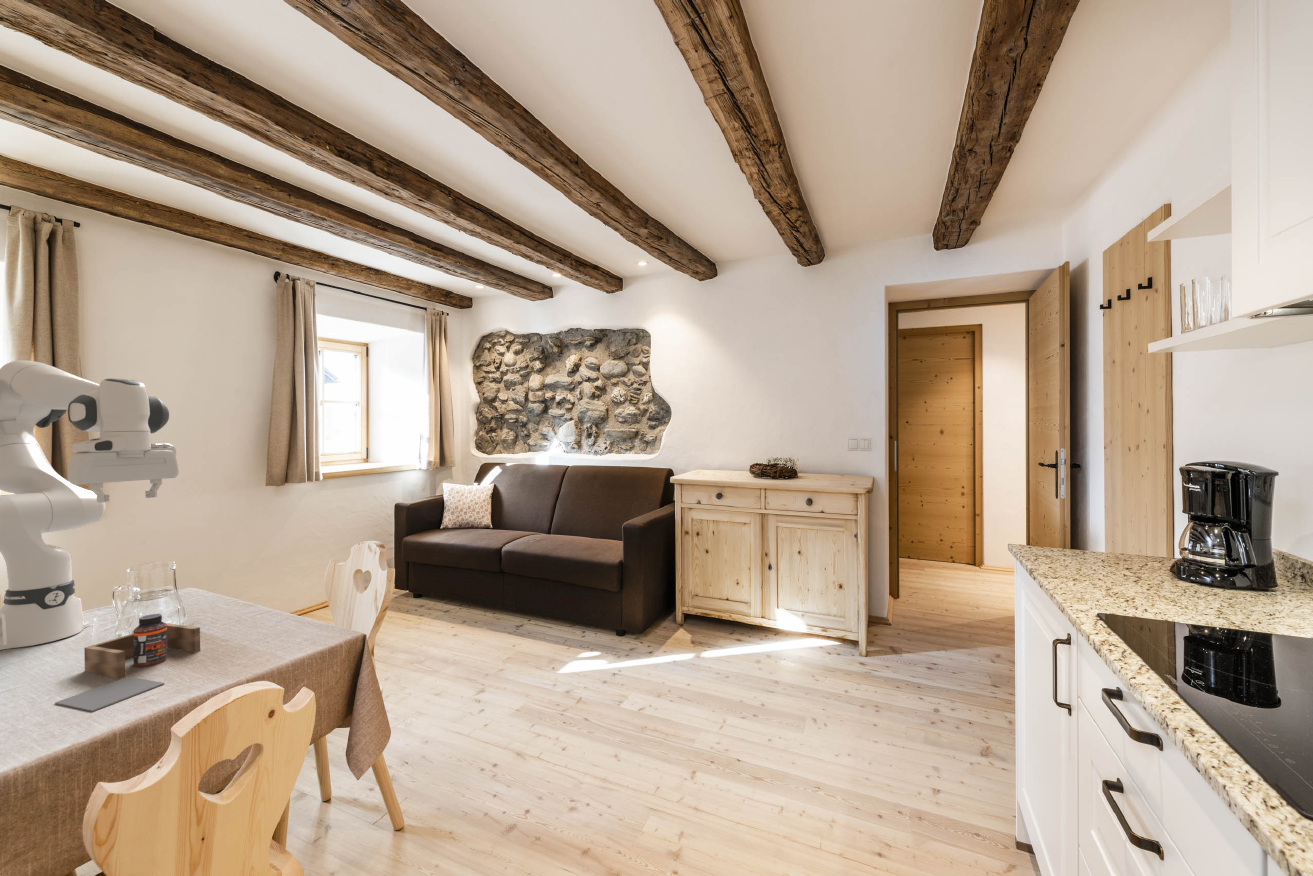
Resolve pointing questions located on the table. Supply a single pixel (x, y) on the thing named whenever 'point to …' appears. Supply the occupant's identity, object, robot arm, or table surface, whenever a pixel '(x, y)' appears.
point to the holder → (114, 652)
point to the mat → (109, 694)
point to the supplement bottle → (150, 641)
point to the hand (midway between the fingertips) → (128, 499)
